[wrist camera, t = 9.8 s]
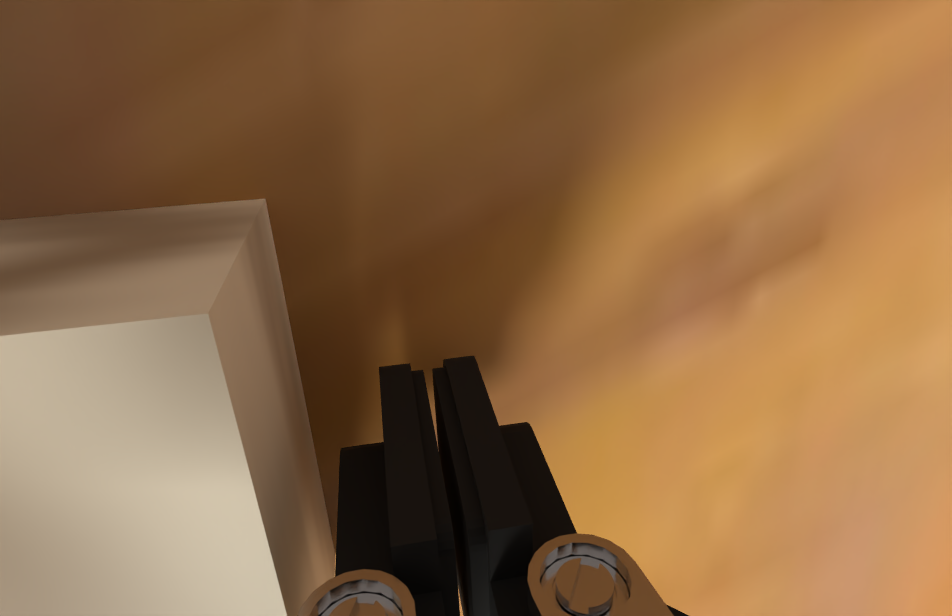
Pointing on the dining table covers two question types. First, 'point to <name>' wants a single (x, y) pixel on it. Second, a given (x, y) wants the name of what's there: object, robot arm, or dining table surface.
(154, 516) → the birch block
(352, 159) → the dining table surface
